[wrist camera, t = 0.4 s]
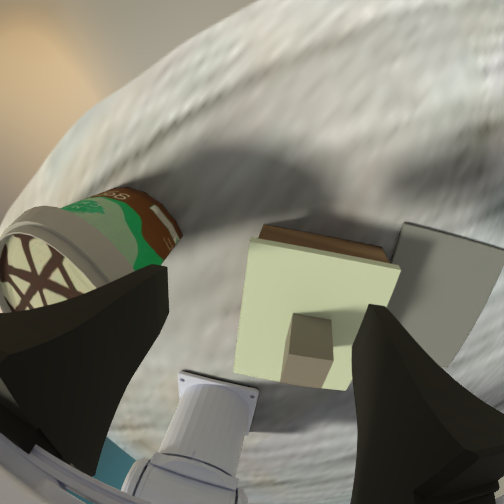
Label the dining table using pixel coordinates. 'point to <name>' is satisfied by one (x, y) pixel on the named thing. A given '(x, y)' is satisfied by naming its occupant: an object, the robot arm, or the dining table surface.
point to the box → (323, 243)
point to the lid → (306, 312)
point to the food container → (81, 247)
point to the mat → (441, 287)
